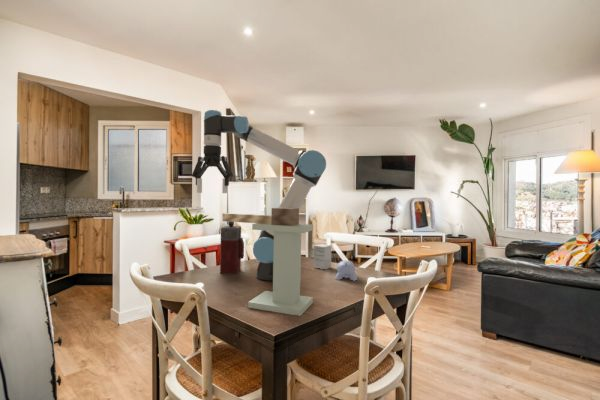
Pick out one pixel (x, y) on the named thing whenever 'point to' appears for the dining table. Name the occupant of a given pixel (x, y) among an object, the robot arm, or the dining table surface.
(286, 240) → the stand
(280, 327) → the dining table surface
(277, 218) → the mallet
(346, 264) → the hippopotamus toy
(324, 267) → the supplement box
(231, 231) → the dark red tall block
